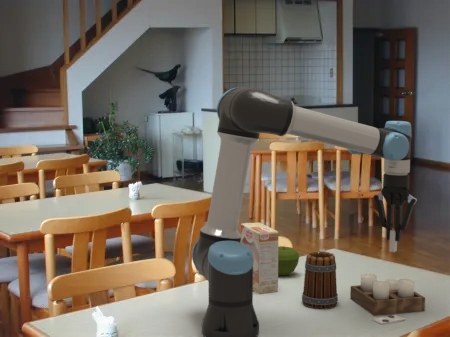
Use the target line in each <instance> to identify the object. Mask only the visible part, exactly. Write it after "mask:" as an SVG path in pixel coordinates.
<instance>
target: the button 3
mask: <svg viewBox="0 0 450 337" xmlns="http://www.w3.org/2000/svg"><path fill="white" fill-rule="evenodd" d="M398 280H399V279H392V278H391V279H385V280H384V281H385V282H388V283H389V290H398Z"/></svg>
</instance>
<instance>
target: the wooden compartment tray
mask: <svg viewBox="0 0 450 337" xmlns="http://www.w3.org/2000/svg"><path fill="white" fill-rule="evenodd" d="M349 294H350V295H349V296H350V297H349V299H350V300H351V301H353V302H354V303H356V304H357V305H358V306H360V307H361V308H362V309H364V310H365V311H367V312H368V313H370V314H371V315H372V316H374V317H375V316H383V315H397V314H405V313H416V312H425V309H426V297H425V296H423V295H421V294H420V293H418V292H416V291H414V297H413V298H400V297H398V290H389V300H377V301H376V300H374V299H373V292H362V291H361V284H360V285H358V284H357V285H350V293H349Z"/></svg>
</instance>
